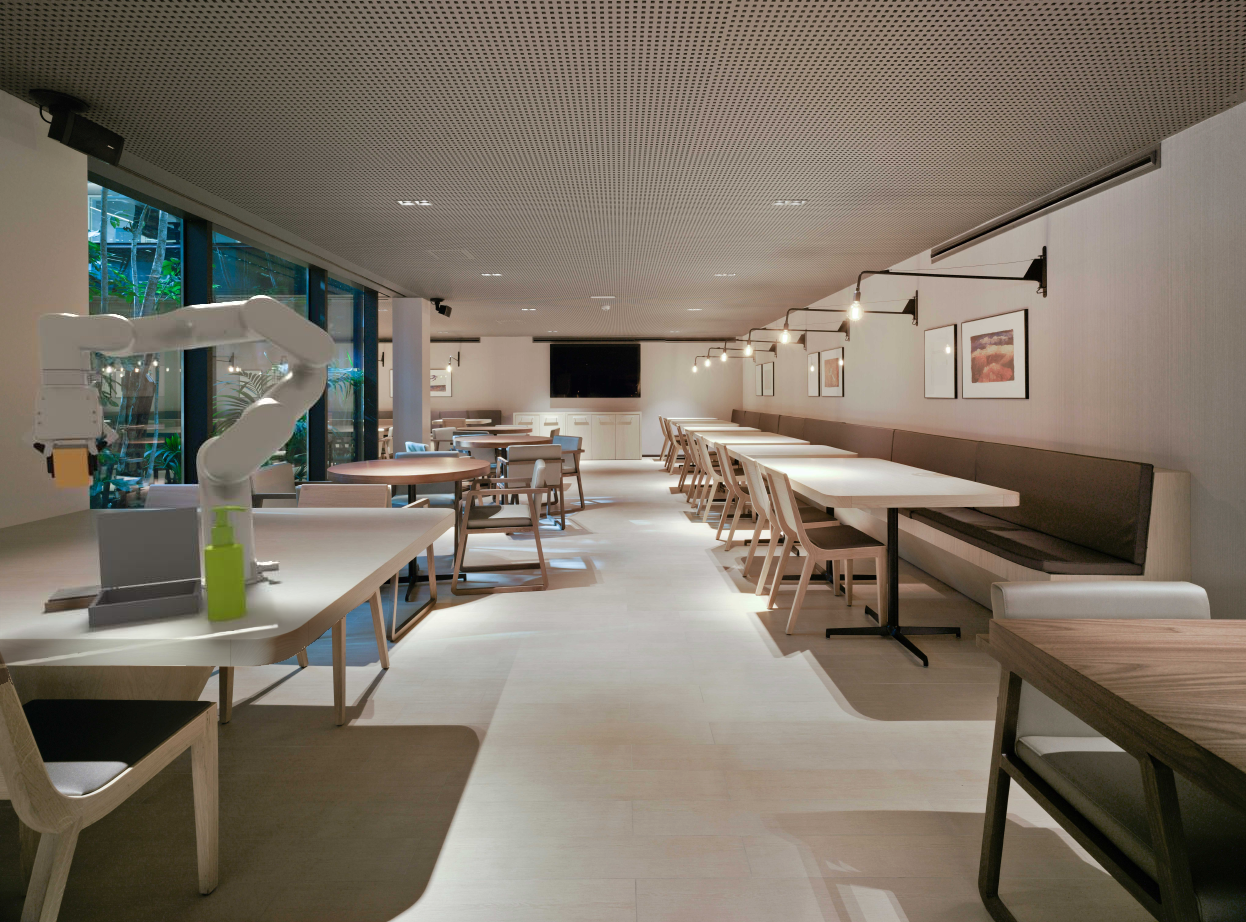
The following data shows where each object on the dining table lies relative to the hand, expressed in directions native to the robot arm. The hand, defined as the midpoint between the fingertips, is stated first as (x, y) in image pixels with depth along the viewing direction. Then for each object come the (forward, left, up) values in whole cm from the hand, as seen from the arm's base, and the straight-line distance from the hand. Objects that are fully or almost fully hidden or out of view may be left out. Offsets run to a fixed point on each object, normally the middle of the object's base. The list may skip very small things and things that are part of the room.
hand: (74, 475), depth 136 cm
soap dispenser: (-25, +27, -25) cm, 45 cm away
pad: (0, 0, -25) cm, 25 cm away
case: (-12, +15, -25) cm, 32 cm away
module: (0, 0, -2) cm, 2 cm away
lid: (-12, +7, -14) cm, 20 cm away
